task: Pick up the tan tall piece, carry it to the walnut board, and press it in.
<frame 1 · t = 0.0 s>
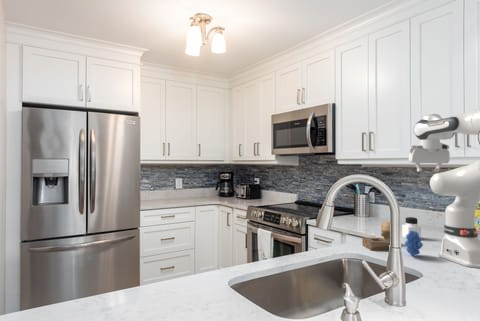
hand: (427, 171, 167), 39 cm above the worktop, tool pointing down, fingers open, 8 cm apart
tan tall piece: (386, 243, 168), on the worktop
grapes: (415, 257, 144), on the worktop
medicine bottle: (411, 238, 182), on the worktop
walnut board: (376, 247, 159), on the worktop
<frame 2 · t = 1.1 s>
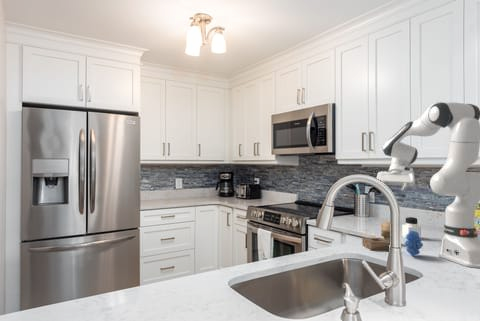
hand: (392, 189, 178), 28 cm above the worktop, tool tilted 45°, fingers open, 8 cm apart
nothing on the worktop moved.
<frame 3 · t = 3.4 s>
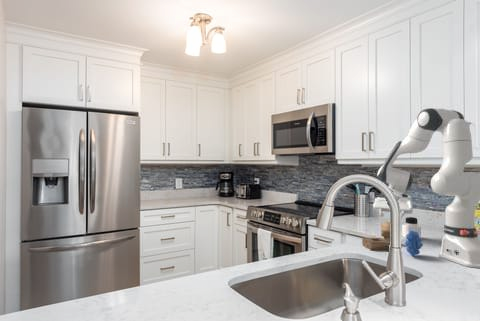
hand: (390, 217, 174), 13 cm above the worktop, tool tilted 45°, fingers open, 8 cm apart
nothing on the worktop moved.
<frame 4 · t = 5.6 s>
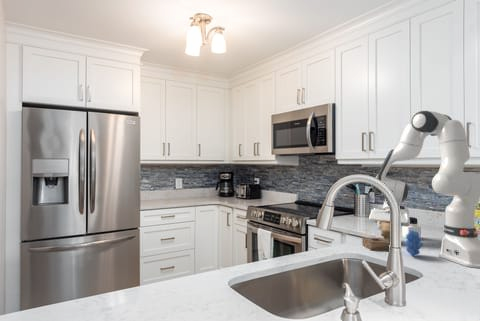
hand: (386, 229, 167), 7 cm above the worktop, tool tilted 45°, fingers closed on tan tall piece, 6 cm apart
tan tall piece: (386, 243, 168), on the worktop, touching gripper
everything else where it was.
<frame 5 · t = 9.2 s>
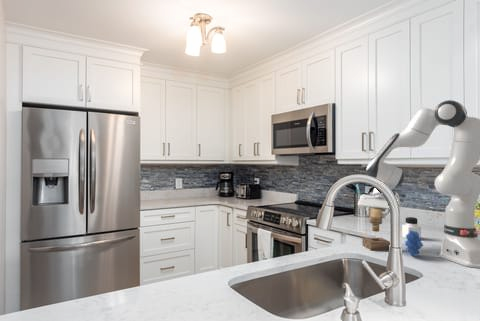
hand: (375, 216, 159), 16 cm above the worktop, tool tilted 45°, fingers closed on tan tall piece, 6 cm apart
tan tall piece: (375, 230, 159), point 8 cm above the worktop, touching gripper
everything else where it was.
when the fingers open (7 cm above the worktop, at t = 12.8 s): tan tall piece stays where it is, resting on walnut board.
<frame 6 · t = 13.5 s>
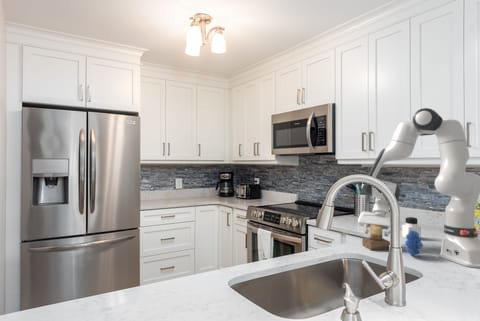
hand: (376, 234, 158), 7 cm above the worktop, tool tilted 45°, fingers open, 8 cm apart
tan tall piece: (376, 247, 159), resting on walnut board
everything else where it was.
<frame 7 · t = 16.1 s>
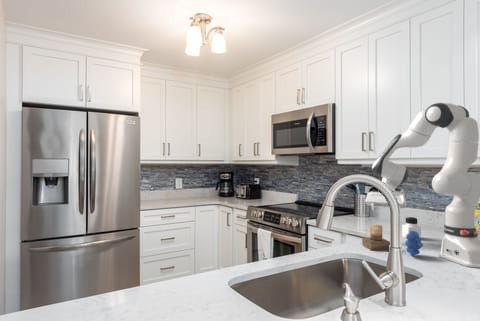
hand: (382, 211, 168), 17 cm above the worktop, tool tilted 45°, fingers open, 8 cm apart
nothing on the worktop moved.
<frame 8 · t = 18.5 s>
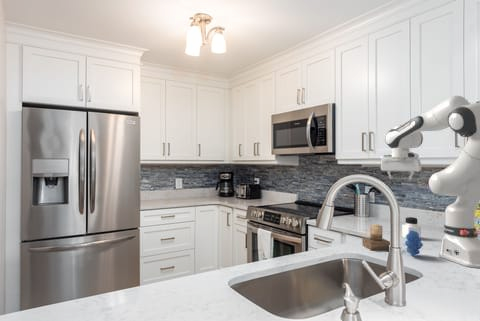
hand: (400, 179, 176), 34 cm above the worktop, tool pointing down, fingers open, 8 cm apart
nothing on the worktop moved.
at the end: tan tall piece 0.1 cm off-centre on the walnut board, point 0.0 cm above the walnut board's base; tan tall piece tilted 0°; the gripper is holding nothing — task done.
